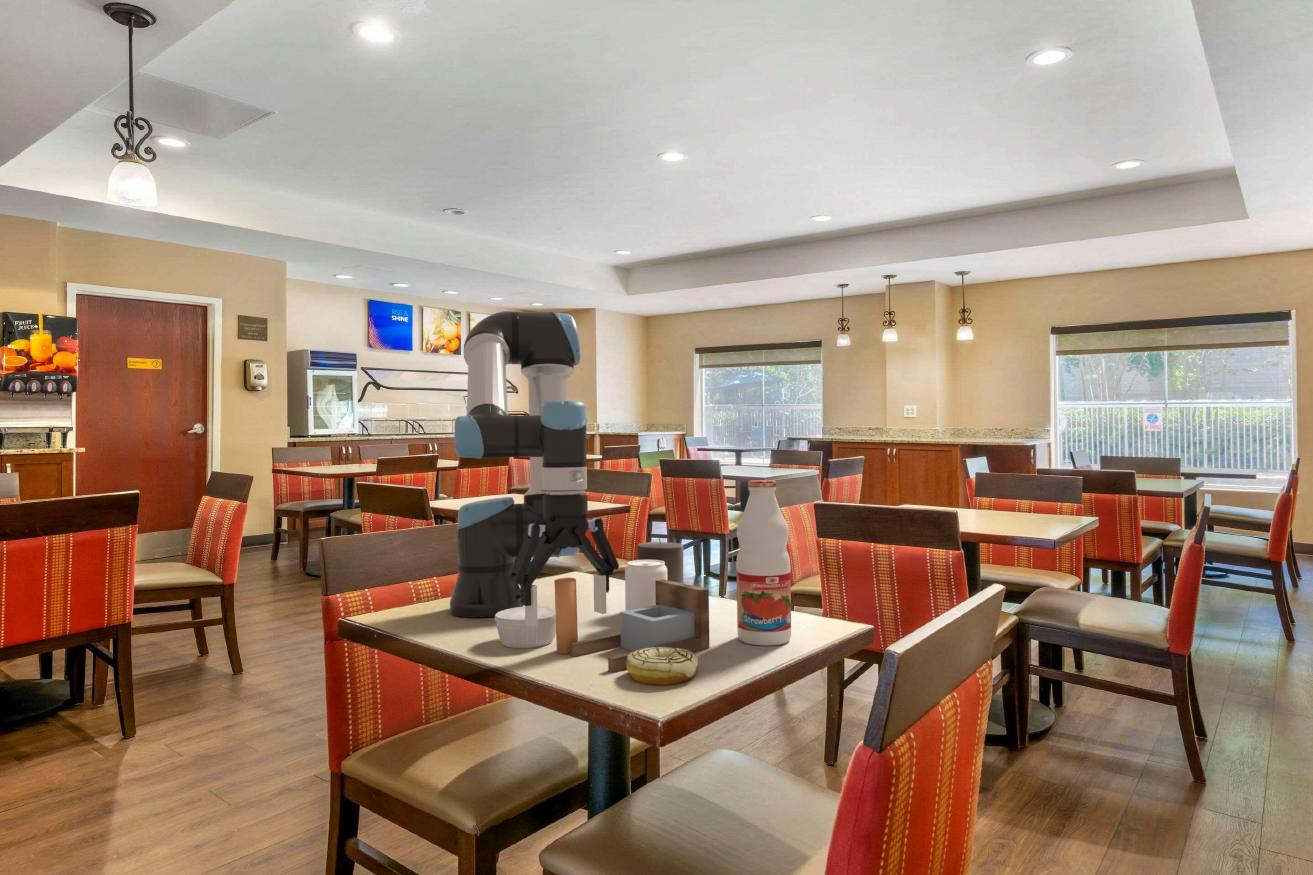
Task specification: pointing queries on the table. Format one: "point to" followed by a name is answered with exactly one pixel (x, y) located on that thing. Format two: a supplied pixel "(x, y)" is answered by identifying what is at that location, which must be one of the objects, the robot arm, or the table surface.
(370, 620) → the table surface
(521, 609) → the ramekin
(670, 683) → the decorated donut
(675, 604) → the track with backstop wall
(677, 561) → the pillar candle
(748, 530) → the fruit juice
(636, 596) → the beverage can
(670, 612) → the socket block
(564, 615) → the dowel
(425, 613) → the table surface
